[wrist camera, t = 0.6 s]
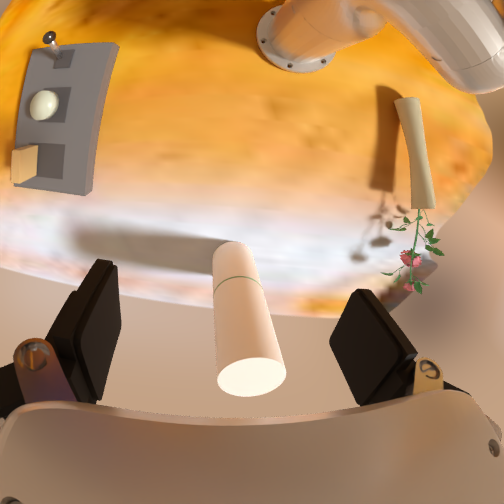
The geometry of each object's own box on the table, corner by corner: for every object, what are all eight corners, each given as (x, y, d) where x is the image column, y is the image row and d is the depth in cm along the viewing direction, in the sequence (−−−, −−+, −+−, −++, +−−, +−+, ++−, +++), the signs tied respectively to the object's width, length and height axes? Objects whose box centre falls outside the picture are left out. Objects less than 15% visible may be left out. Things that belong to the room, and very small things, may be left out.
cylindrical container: (217, 280, 50) (227, 401, 28) (207, 246, 46) (208, 365, 24) (256, 272, 50) (288, 388, 28) (249, 237, 46) (282, 350, 24)
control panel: (41, 51, 24) (31, 49, 21) (119, 46, 28) (112, 41, 25) (22, 181, 34) (12, 187, 31) (92, 190, 38) (83, 197, 35)
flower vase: (390, 109, 45) (409, 267, 55) (350, 107, 41) (375, 287, 51) (436, 100, 34) (451, 280, 44) (401, 92, 30) (420, 305, 40)
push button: (39, 91, 25) (32, 91, 23) (61, 90, 26) (54, 89, 24) (34, 119, 27) (27, 120, 25) (56, 119, 28) (49, 120, 26)
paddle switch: (29, 144, 29) (12, 150, 25) (38, 145, 30) (20, 150, 25) (28, 174, 31) (11, 182, 27) (36, 175, 32) (19, 183, 28)
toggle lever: (58, 52, 23) (45, 29, 17) (68, 51, 24) (56, 27, 17) (52, 62, 23) (38, 40, 17) (62, 61, 24) (48, 38, 17)
